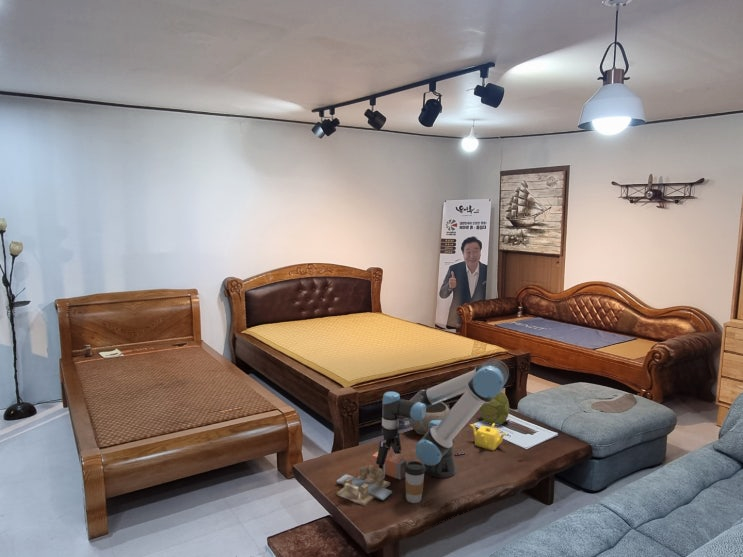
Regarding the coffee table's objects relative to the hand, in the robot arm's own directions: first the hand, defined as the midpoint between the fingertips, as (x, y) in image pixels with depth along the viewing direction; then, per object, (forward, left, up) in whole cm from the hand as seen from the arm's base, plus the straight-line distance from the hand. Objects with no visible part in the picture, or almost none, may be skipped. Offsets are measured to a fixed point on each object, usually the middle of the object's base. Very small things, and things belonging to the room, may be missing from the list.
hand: (388, 471), depth 237 cm
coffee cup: (-20, +13, 0) cm, 24 cm away
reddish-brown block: (0, 0, 0) cm, 0 cm away
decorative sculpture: (-19, -86, 0) cm, 88 cm away
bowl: (+5, -51, 0) cm, 51 cm away
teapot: (-27, -54, 0) cm, 60 cm away
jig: (+1, +19, 0) cm, 19 cm away
